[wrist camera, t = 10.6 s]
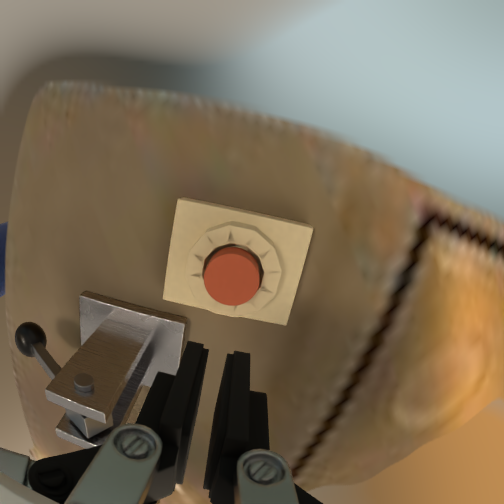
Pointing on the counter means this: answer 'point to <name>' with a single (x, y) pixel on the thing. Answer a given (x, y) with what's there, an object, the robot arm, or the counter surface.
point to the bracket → (114, 363)
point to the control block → (241, 236)
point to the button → (232, 276)
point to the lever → (53, 372)
